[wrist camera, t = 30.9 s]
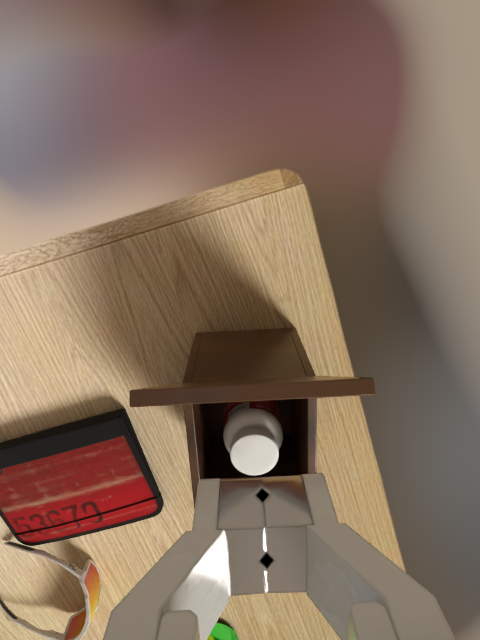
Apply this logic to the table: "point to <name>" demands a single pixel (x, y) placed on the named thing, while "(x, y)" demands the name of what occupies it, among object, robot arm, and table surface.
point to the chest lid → (252, 390)
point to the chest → (244, 364)
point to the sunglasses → (90, 586)
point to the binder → (76, 480)
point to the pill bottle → (253, 435)
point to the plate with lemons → (222, 633)
